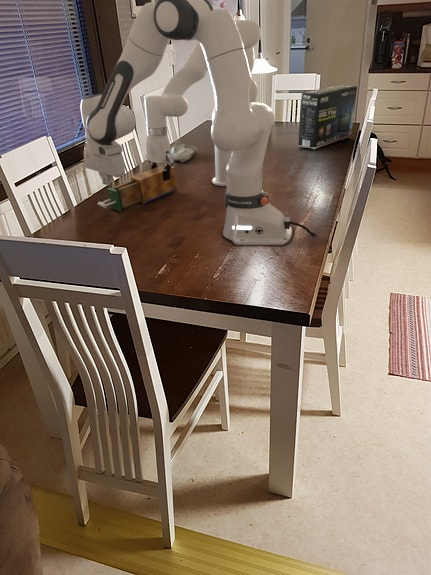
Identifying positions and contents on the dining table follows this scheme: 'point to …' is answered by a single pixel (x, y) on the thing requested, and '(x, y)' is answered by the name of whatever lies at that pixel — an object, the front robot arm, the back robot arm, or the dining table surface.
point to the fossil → (182, 152)
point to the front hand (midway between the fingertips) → (107, 184)
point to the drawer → (123, 195)
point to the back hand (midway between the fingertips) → (161, 177)
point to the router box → (326, 115)
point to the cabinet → (155, 184)
